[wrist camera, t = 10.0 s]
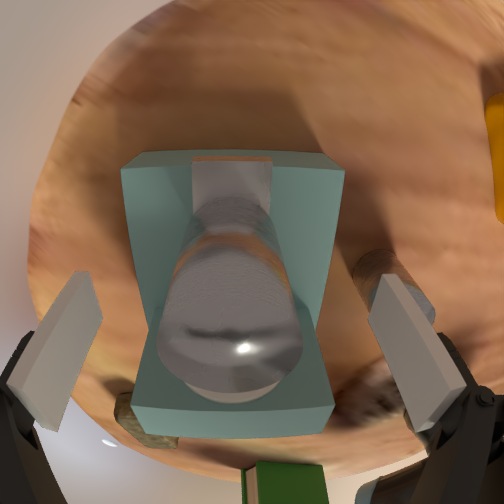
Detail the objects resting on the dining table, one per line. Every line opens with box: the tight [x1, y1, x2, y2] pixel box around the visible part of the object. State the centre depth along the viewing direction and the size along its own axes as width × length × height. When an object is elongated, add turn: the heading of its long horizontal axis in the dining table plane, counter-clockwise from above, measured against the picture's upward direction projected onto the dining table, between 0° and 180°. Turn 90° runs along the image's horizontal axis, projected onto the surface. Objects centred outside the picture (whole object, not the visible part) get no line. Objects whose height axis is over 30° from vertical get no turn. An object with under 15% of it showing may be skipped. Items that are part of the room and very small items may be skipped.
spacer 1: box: [156, 197, 304, 393], centre depth 13 cm, size 5×5×8 cm
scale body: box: [120, 149, 345, 439], centre depth 20 cm, size 15×14×14 cm
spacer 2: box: [353, 249, 435, 326], centre depth 25 cm, size 5×5×8 cm
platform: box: [191, 156, 272, 215], centre depth 18 cm, size 9×4×3 cm, turn 178°
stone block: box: [114, 393, 179, 449], centre depth 38 cm, size 6×12×5 cm, turn 15°
